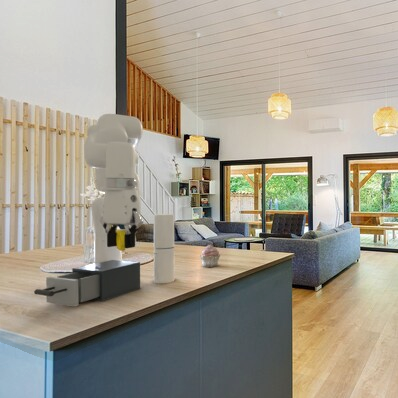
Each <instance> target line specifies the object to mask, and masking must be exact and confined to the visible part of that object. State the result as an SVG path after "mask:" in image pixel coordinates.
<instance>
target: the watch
mask: <svg viewBox="0 0 398 398" xmlns="http://www.w3.org/2000/svg"><path fill="white" fill-rule="evenodd" d="M116 233H117V237H116V240H117V241H116V242H117V249H118V250H119V251H122V252H123V251H125V250H126V248H125V234H126V230H125V228H120V229H118V230H116Z"/></svg>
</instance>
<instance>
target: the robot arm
mask: <svg viewBox="0 0 398 398" xmlns="http://www.w3.org/2000/svg"><path fill="white" fill-rule="evenodd" d="M96 123H97V124H92V125H89V126H88V127H87V131H86V132H87V133H86V134H87V136H86V139H85V140H84V144H83V150H84V151H83V155H84V161H85V164H86V165H87V166H88V167H89V168H92V169H94V171H95V172H94V174H95V176H94V177H95V188H96V190H97V192H98V193H101V194H104V195H103V196H101V197H97V198H95V199H94V200H93V201H92V202H91V207H90V208H91V213H92V214H91V215H92V221H93V237H94V239H93V241H94V242H93V243H94V244H93V245H94V246H93V247H94V250H93V251H94V256H93V257H94V258H93V259H94V264H96V263H100V262H105V261H110V260H120V261H123V251H119V250H118V249H117V242H116V241H117V240H116V237H117V233H116V230H118V229H121V228H120V226H119V225H123V227H124V229H125V230H126V232H125V249H132V248H135V247H136V234H137V233H138V231H139V229H140V227H141V226H142V225H143V224H144V220H143V219H142V213H141V212H142V211H141V210H142V208H141V207H142V206H141V205H142V203H141V180H140V176H139V174H138V173H137V172H136V167H137V166H138V164H139V154H138V152H137V151H136V148H137V146H138V145H139V143H140V141H141V139H142V136H143V129H144V128H143V124H142V122H141V120H140V119H139V118H138V117H136V116H133V115H132V116H131V115H126V114H125V115H124V114H116V113H105V114H102V115H100V116H99V117H98V119H97V122H96Z"/></svg>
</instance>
